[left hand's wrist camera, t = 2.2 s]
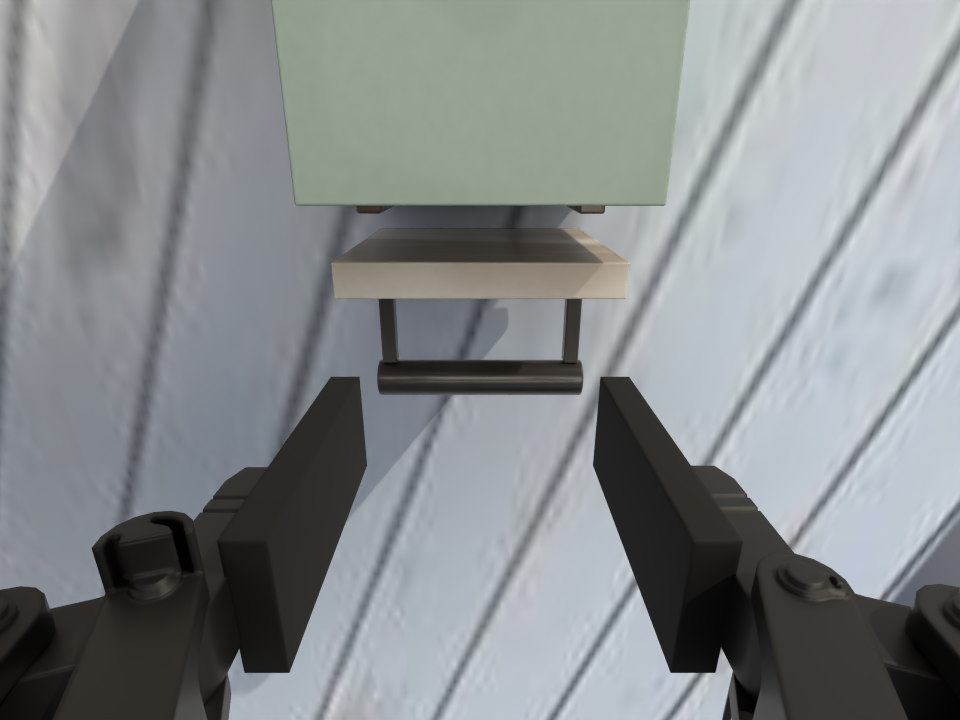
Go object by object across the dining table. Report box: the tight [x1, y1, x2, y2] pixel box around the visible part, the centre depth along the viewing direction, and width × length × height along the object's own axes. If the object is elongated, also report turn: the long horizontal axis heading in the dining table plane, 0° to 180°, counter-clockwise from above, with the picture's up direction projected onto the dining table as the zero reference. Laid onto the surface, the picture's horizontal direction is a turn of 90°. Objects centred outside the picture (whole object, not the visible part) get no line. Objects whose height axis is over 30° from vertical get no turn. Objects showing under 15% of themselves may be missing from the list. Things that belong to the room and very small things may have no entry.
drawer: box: [331, 206, 630, 395], centre depth 19 cm, size 24×10×9 cm, turn 0°
